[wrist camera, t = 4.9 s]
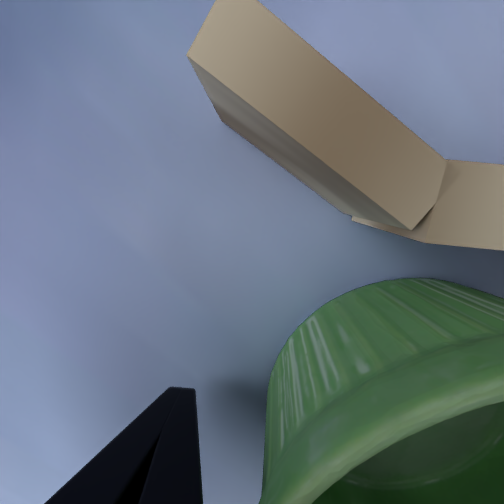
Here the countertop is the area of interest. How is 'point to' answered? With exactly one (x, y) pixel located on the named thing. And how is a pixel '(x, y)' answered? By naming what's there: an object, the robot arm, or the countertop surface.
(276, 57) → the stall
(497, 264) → the countertop surface
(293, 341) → the ramekin
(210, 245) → the countertop surface
